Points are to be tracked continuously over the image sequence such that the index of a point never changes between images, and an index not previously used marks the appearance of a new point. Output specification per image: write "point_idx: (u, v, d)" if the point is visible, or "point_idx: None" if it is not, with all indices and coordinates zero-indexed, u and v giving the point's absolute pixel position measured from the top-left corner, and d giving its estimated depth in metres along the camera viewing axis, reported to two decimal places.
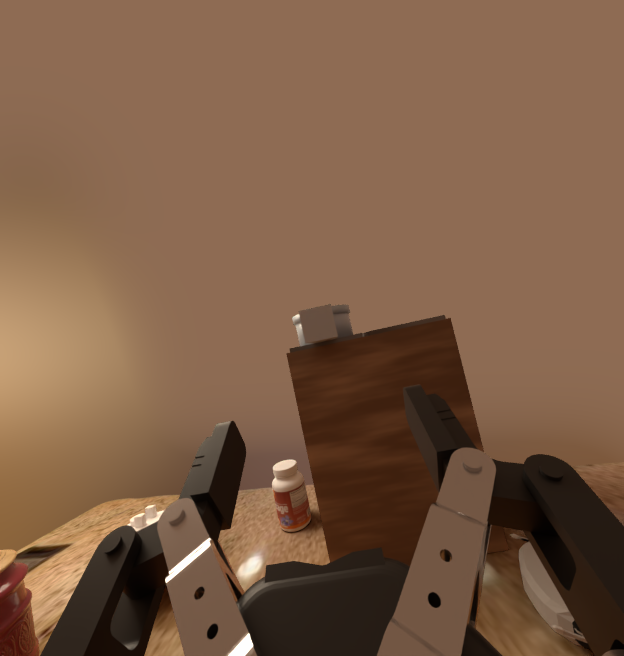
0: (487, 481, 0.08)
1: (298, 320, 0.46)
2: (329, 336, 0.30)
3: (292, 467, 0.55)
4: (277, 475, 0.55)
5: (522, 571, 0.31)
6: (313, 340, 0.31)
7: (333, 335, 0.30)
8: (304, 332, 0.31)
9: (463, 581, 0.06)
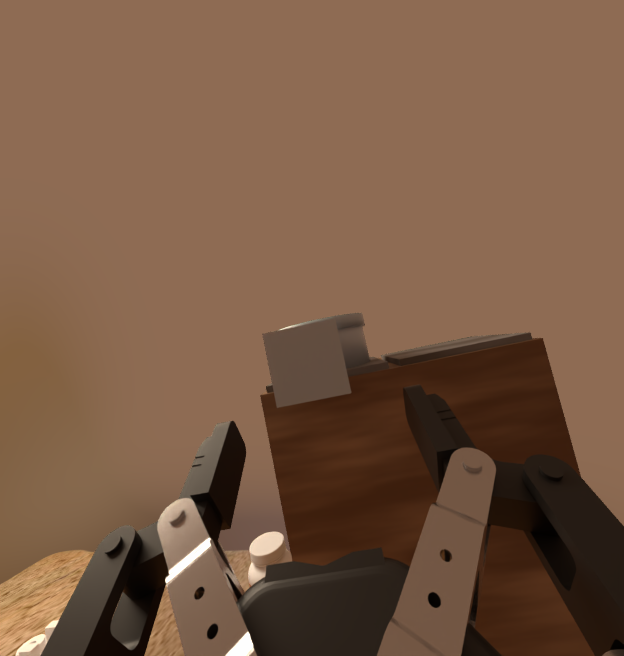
0: (487, 481, 0.08)
1: None
2: (332, 393, 0.13)
3: (276, 549, 0.37)
4: (255, 562, 0.37)
5: None
6: (295, 401, 0.13)
7: (341, 390, 0.13)
8: (275, 382, 0.14)
9: (463, 581, 0.06)
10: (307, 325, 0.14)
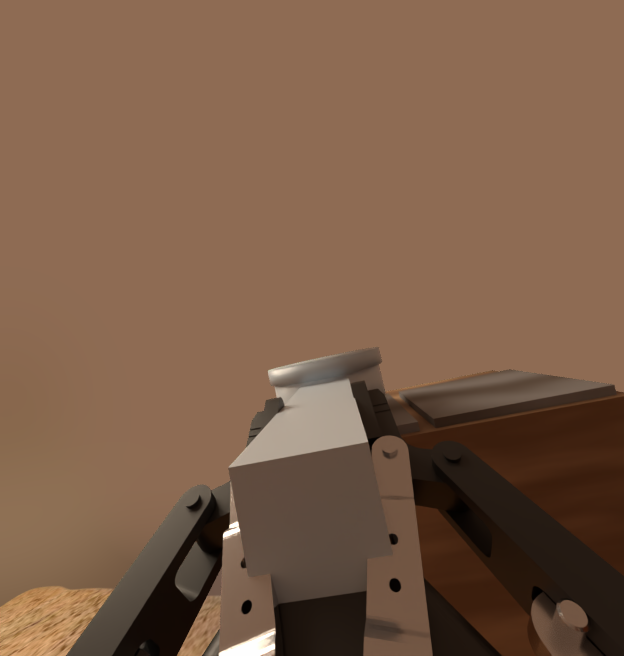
0: (398, 464, 0.09)
1: (277, 382, 0.22)
2: None
3: None
4: None
5: None
6: None
7: None
8: (252, 564, 0.07)
9: (412, 555, 0.07)
10: (314, 455, 0.07)
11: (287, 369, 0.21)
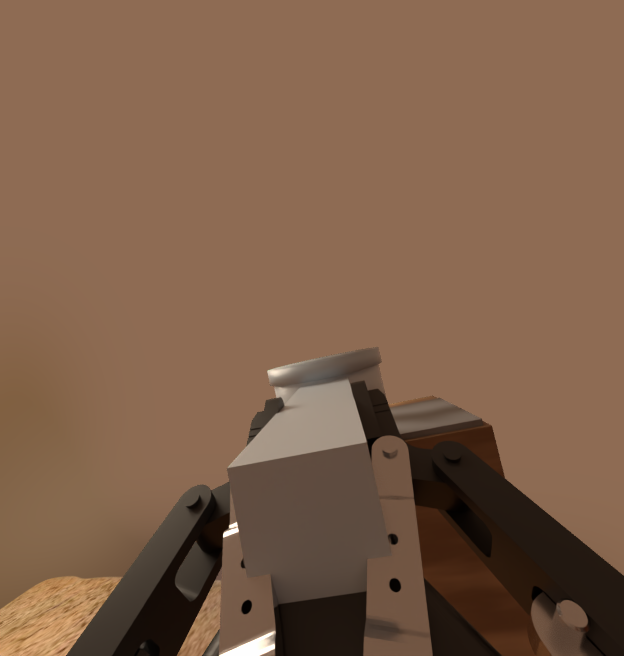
0: (398, 464, 0.09)
1: (277, 382, 0.22)
2: None
3: None
4: None
5: None
6: None
7: None
8: (251, 565, 0.07)
9: (411, 554, 0.07)
10: (313, 455, 0.07)
11: (287, 369, 0.21)
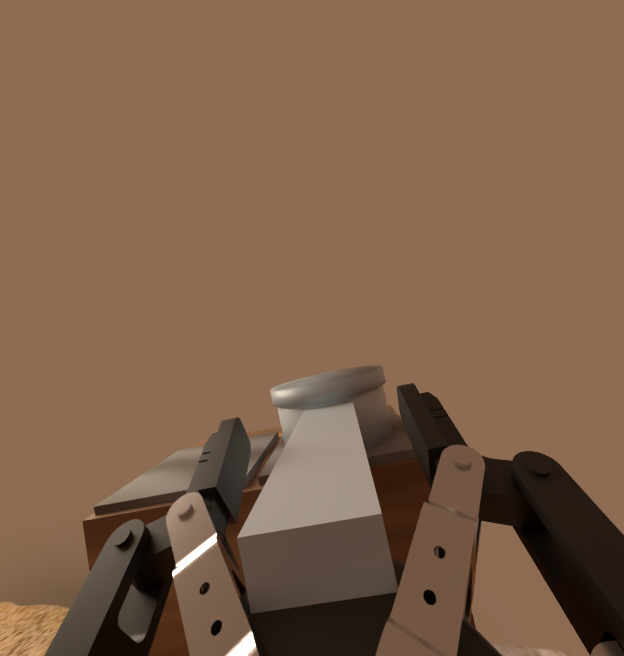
0: (476, 477, 0.08)
1: (280, 403, 0.22)
2: None
3: None
4: None
5: None
6: None
7: None
8: None
9: (457, 576, 0.06)
10: (326, 527, 0.07)
11: (290, 391, 0.21)
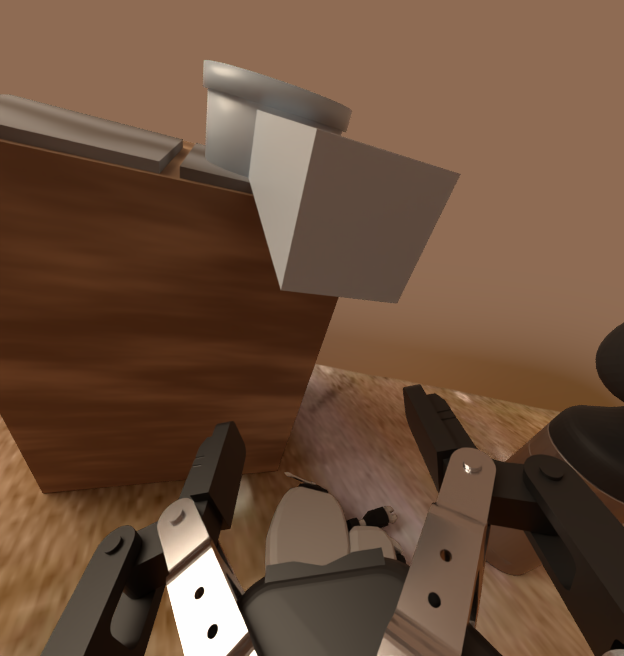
0: (487, 481, 0.08)
1: (223, 85, 0.16)
2: (374, 295, 0.08)
3: None
4: None
5: (272, 530, 0.28)
6: (315, 290, 0.08)
7: (386, 296, 0.08)
8: (296, 248, 0.07)
9: (463, 581, 0.06)
10: (411, 162, 0.06)
11: (247, 72, 0.15)
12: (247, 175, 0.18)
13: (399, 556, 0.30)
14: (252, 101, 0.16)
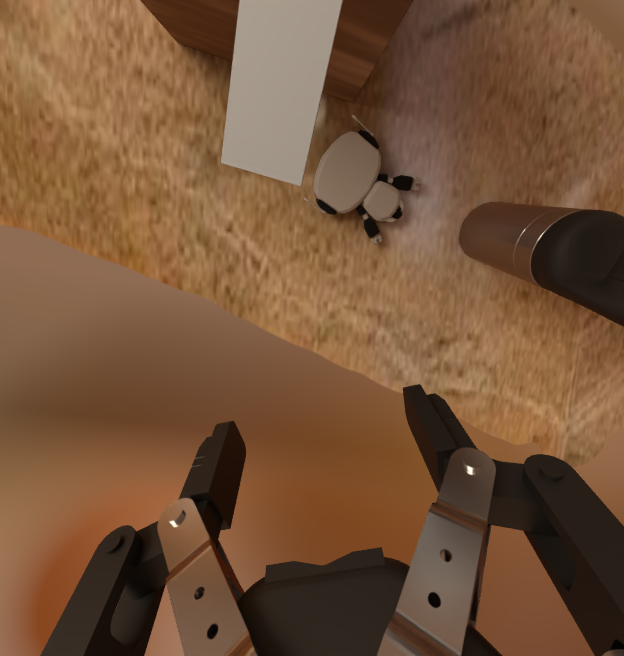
0: (487, 481, 0.08)
1: None
2: None
3: None
4: None
5: (324, 156, 0.40)
6: None
7: None
8: None
9: (463, 581, 0.06)
10: None
11: None
12: None
13: (398, 211, 0.45)
14: None
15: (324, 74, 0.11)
